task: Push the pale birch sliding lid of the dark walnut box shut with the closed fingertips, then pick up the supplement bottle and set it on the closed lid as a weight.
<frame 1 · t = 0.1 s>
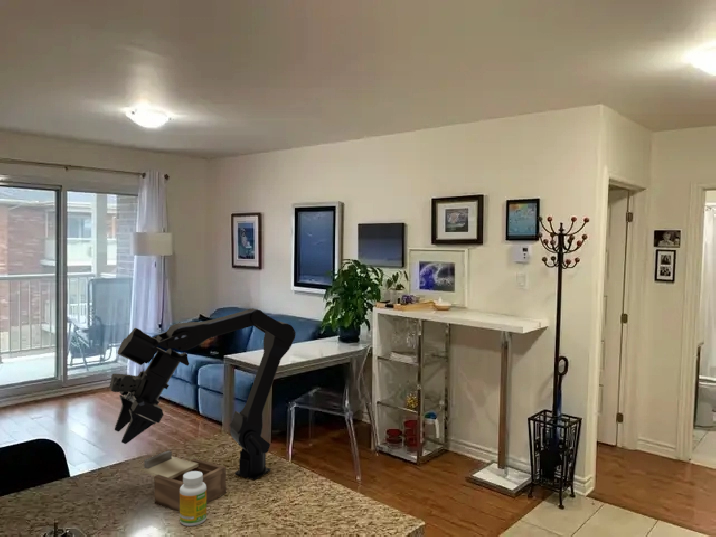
hand: (119, 436, 123), 15 cm above the kitchen counter, tool tilted 30°, fingers open, 9 cm apart
lid: (169, 464, 129), point 7 cm above the kitchen counter, slide at 6.0 cm
supplement bottle: (193, 521, 116), on the kitchen counter
box: (190, 498, 126), on the kitchen counter
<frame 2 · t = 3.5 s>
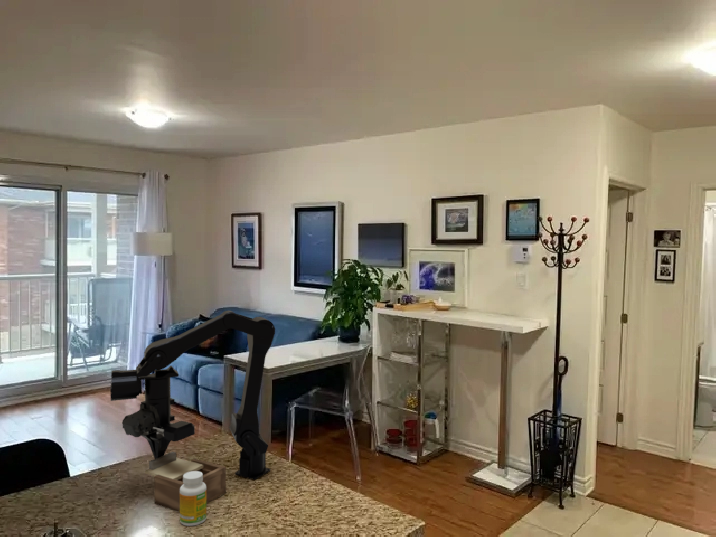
hand: (158, 461, 131), 6 cm above the kitchen counter, tool pointing down, fingers closed
lid: (174, 465, 128), point 7 cm above the kitchen counter, slide at 4.4 cm, touching gripper
everything else where it was.
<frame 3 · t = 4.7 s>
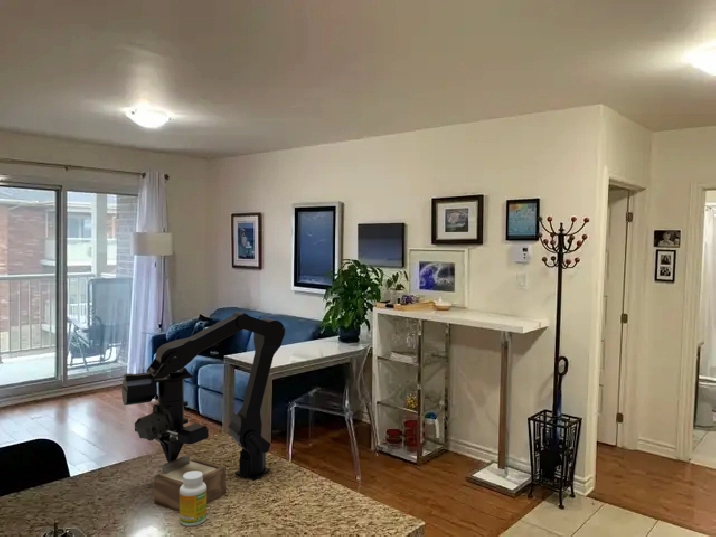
hand: (171, 464, 129), 6 cm above the kitchen counter, tool pointing down, fingers closed
lid: (188, 469, 126), point 7 cm above the kitchen counter, slide at 0.0 cm, touching gripper
everything else where it was.
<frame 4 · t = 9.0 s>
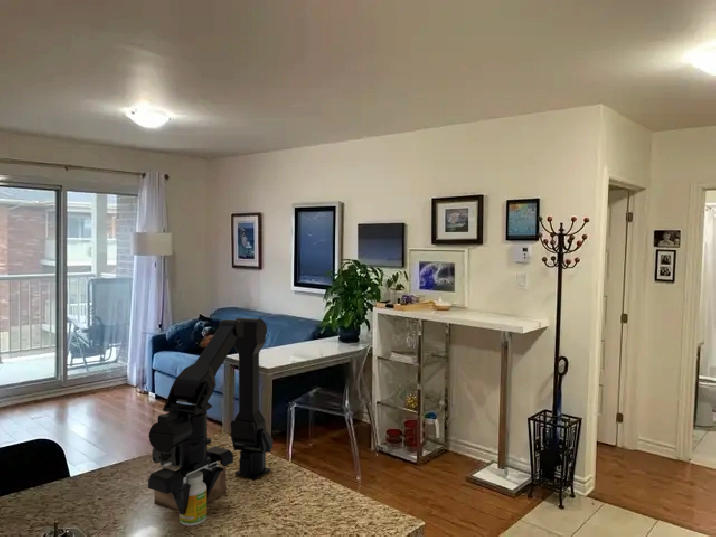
hand: (193, 508, 116), 3 cm above the kitchen counter, tool pointing down, fingers closed on supplement bottle, 5 cm apart
lid: (188, 469, 126), point 7 cm above the kitchen counter, slide at 0.0 cm
supplement bottle: (193, 521, 116), on the kitchen counter, touching gripper
when the fingers open (10 cm above the kitchen counter, at t = 11.8 s): supplement bottle drops 1 cm, resting on lid.
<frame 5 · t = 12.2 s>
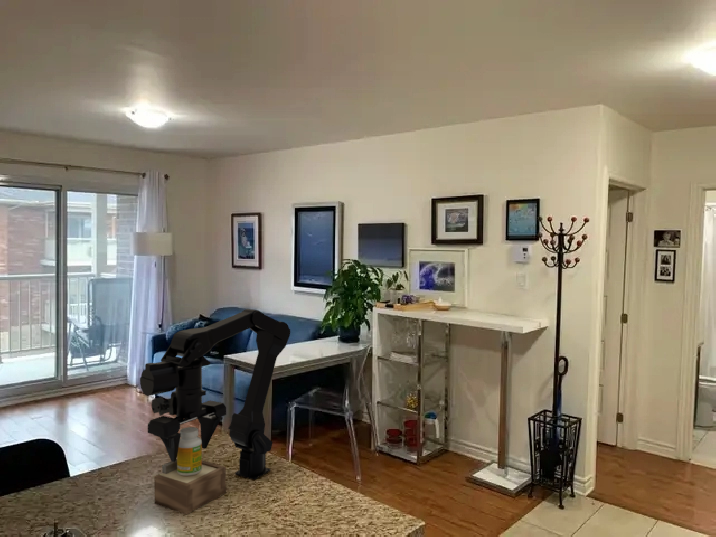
hand: (189, 454, 126), 10 cm above the kitchen counter, tool pointing down, fingers open, 9 cm apart
lid: (188, 469, 126), point 7 cm above the kitchen counter, slide at 0.0 cm, touching supplement bottle
supplement bottle: (189, 472, 126), point 6 cm above the kitchen counter, touching lid
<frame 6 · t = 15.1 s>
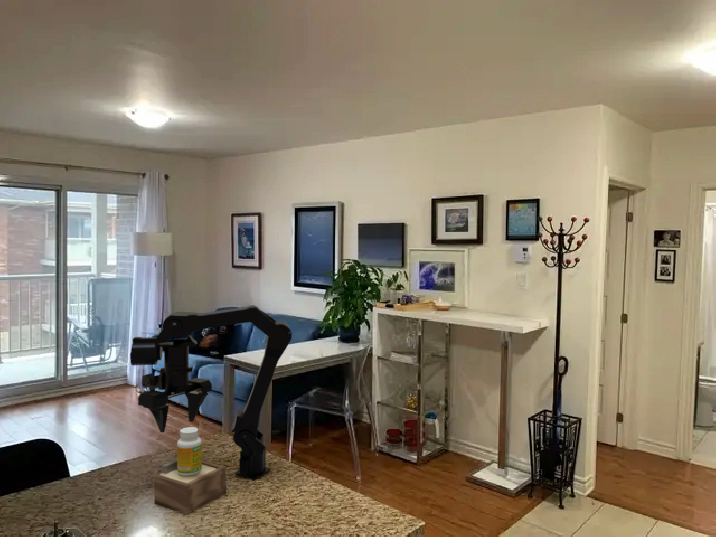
hand: (177, 426, 136), 13 cm above the kitchen counter, tool pointing down, fingers open, 9 cm apart
nothing on the kitchen counter moved.
at the end: lid slide at 0.0 cm; supplement bottle inside the target area on the box (0.8 cm from its centre), point 5.8 cm above the box's base; supplement bottle tilted 0° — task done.
